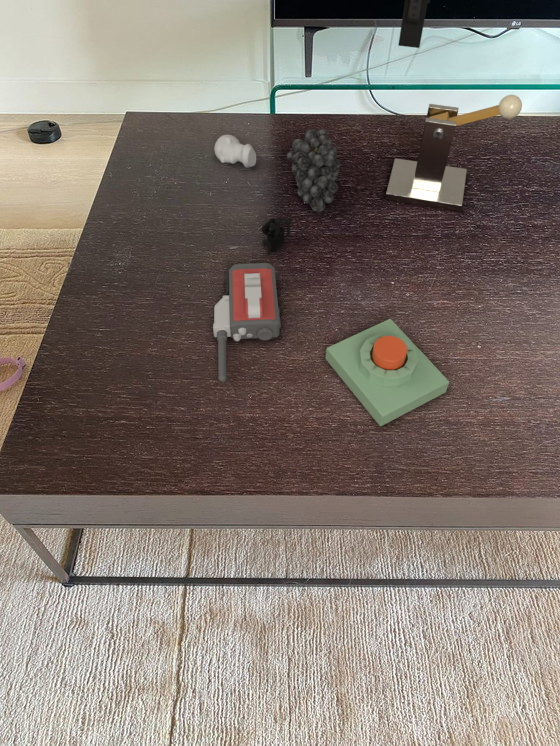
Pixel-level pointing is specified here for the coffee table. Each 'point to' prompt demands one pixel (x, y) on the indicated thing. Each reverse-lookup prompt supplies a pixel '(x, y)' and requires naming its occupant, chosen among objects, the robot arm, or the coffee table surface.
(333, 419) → the coffee table surface
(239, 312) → the walkie-talkie
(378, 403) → the switch box
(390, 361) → the switch button
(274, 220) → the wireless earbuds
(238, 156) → the smooth white sculpture
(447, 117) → the switch lever
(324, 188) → the fruit
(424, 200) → the switch bracket
